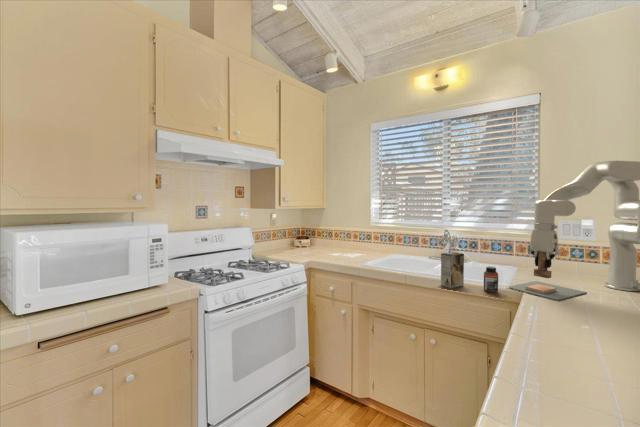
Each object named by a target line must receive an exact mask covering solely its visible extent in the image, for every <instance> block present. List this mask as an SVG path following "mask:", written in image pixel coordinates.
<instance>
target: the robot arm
mask: <svg viewBox="0 0 640 427" xmlns="http://www.w3.org/2000/svg"><path fill="white" fill-rule="evenodd" d="M603 181H607V182H608V183H609V184H610V185H611V186H612V188H613V190H614V196H613V215H614V217H615V218H616V219H619V220H624V221H623V222H615V223H612V224H611V225H609V227H608V230H607V235H608V240H609V261H608V264H609V267H608V268H609V269H608V281H607V282H604V283H603V285H604V287H606V288H609V289H613V290H619V291H623V292H624V291H625V292H638V291H640V282H639V279H636V278H637V265H638V264H637V260H638V251H637V249H636V247H635V245H640V189H639V186H638V184H637V183H636V181H640V161H635V160H633V161H631V160H607V161H606V160H605V161H597V162H594V163H592V164H591V163H590V164H589V165H588V166H587V167H586V168H585V169H584V170H583V171H582V172H581V173H579V175H578V176H577V177H576V178H574V180H572V181H570V182H569V183H567V184H565V185H563V186H561V187H559V188H557V189H556V190H554V191H552V192H551V193H550V194H548V196H546V198H544V199H543V200H542V199H541V200H537V201H535V204H534V225H533V226H534V227H533V228H534V229H532V232H531V235H530V243H529V244H530V245H529V246H528V248H527V251H528V252H530V253H531V254H532V255H533V257H534V264H535V265H534V266H535V267H538V253H539V251H542V252H546V256H547V259H545V268H547V269H549V268H551V267H552V260H553V259H554V258H555V257H558V256H559V255H561V251H560V250H559V238H558V233H557V230H555V229H558V225H557V224H555V220H556V217H571V215H574V213H576V209H577V208H576V204H575V203H574V202H573V201H571V200H573V199H577V198H578V199H579V198H582V197H585V196H588V195H589V194H591V193H592V192H593V191H594V190H595V189H596V188H598V186H599V185H600V184H601V183H602V182H603ZM625 221H636V222H637V223H635V222H625Z"/></svg>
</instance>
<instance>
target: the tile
mask: <svg viewBox="0 0 640 427" xmlns="http://www.w3.org/2000/svg"><path fill="white" fill-rule="evenodd" d="M525 290H529V291H533V292H537V293H541V294H547V293H551V292H556V288H554V287H549V286H545V285H540V284H535V285H530V286H526V287H525Z"/></svg>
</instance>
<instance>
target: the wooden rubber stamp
mask: <svg viewBox="0 0 640 427" xmlns="http://www.w3.org/2000/svg"><path fill="white" fill-rule="evenodd" d="M545 259H547V256H546V252H542V251H539V253H538V266H537V268H534V269H533V276H534V277H540V278H545V279H550V278H552V270H548V268H545Z"/></svg>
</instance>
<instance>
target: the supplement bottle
mask: <svg viewBox="0 0 640 427" xmlns="http://www.w3.org/2000/svg"><path fill="white" fill-rule="evenodd" d="M483 291H484V292H486V293H491V294H495V293H498V292H499V273H498V272H497V267H496V266H486V269H485V271H484V272H483Z"/></svg>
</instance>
